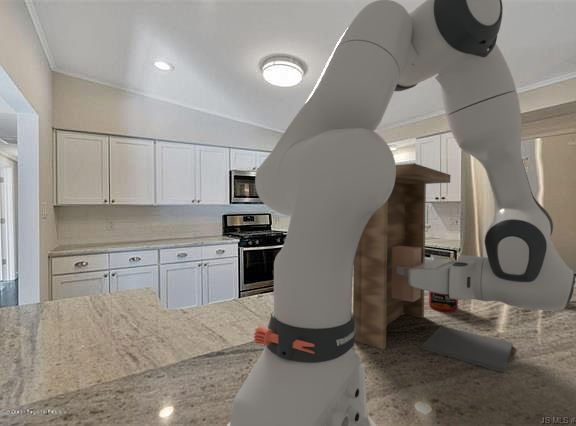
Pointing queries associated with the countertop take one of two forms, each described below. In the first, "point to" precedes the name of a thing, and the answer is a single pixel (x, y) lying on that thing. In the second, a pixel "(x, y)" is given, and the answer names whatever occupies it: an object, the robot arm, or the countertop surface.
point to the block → (400, 282)
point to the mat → (470, 348)
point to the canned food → (442, 302)
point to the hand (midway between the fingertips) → (402, 267)
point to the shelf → (390, 253)
